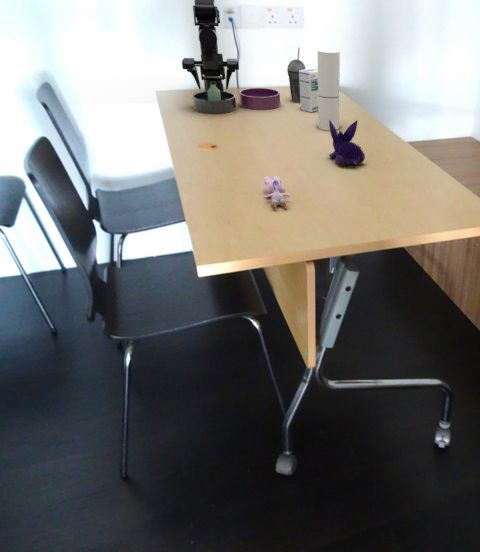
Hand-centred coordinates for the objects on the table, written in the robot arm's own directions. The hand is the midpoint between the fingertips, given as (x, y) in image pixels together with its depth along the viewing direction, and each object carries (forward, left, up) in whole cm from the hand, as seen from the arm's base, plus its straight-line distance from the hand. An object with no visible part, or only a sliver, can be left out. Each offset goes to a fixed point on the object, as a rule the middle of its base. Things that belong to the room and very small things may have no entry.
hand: (213, 89), depth 202 cm
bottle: (0, 0, -7) cm, 7 cm away
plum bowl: (+10, +14, -8) cm, 18 cm away
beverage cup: (+16, +29, -8) cm, 34 cm away
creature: (+65, -22, -8) cm, 69 cm away
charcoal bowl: (0, 0, -8) cm, 8 cm away
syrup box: (+27, +21, -8) cm, 35 cm away
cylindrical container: (+44, +5, -8) cm, 45 cm away
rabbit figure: (+64, -56, -8) cm, 85 cm away
